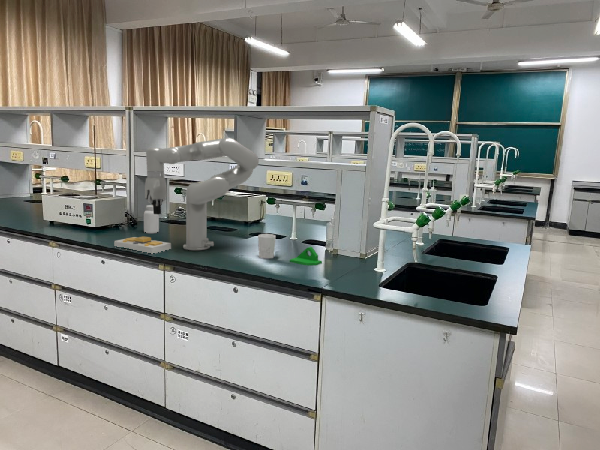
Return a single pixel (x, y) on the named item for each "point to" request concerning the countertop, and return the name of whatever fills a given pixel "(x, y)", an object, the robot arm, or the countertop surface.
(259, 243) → the white cup
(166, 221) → the countertop surface
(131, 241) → the key
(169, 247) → the white flat piece
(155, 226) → the pill bottle
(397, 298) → the countertop surface
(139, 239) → the key
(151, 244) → the key
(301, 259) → the bracket
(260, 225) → the countertop surface
